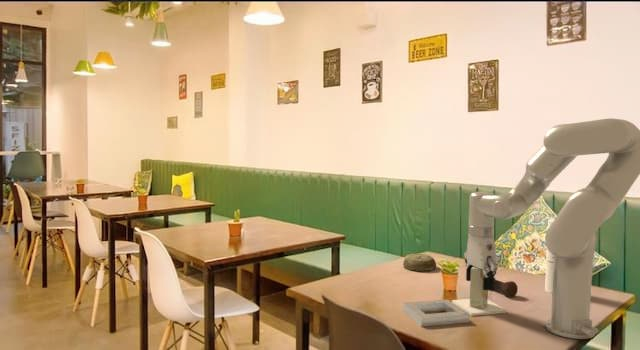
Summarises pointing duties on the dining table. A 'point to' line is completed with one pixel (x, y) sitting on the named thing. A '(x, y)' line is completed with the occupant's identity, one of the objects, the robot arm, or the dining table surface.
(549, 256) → the cylindrical container
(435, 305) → the socket block
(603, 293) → the dining table surface
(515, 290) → the dark brown dumbbell
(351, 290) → the dining table surface
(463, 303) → the tile
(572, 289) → the robot arm
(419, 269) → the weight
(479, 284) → the grey upright block
